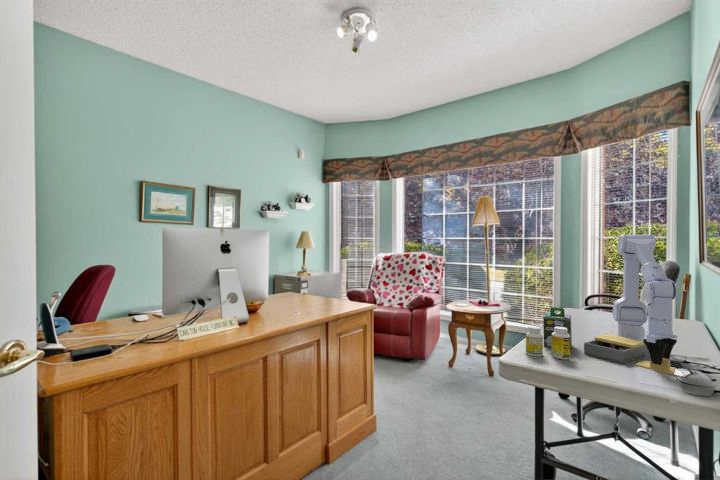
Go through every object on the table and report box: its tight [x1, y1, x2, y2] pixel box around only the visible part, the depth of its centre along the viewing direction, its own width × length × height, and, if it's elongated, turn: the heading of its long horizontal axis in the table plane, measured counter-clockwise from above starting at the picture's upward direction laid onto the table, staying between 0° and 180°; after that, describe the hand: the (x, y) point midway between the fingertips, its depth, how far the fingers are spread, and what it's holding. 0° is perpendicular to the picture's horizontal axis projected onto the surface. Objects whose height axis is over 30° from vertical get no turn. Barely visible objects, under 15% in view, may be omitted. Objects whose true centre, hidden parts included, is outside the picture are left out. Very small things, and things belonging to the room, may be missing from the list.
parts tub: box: [583, 333, 646, 365], centre depth 123 cm, size 17×12×5 cm
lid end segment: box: [634, 357, 677, 376], centre depth 109 cm, size 7×12×4 cm, turn 31°
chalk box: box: [542, 306, 573, 351], centre depth 134 cm, size 9×9×15 cm
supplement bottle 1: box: [525, 325, 544, 358], centre depth 122 cm, size 5×5×10 cm
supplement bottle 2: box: [551, 327, 571, 360], centre depth 119 cm, size 6×6×10 cm
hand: (660, 362), depth 108 cm, fingers open, 5 cm apart
